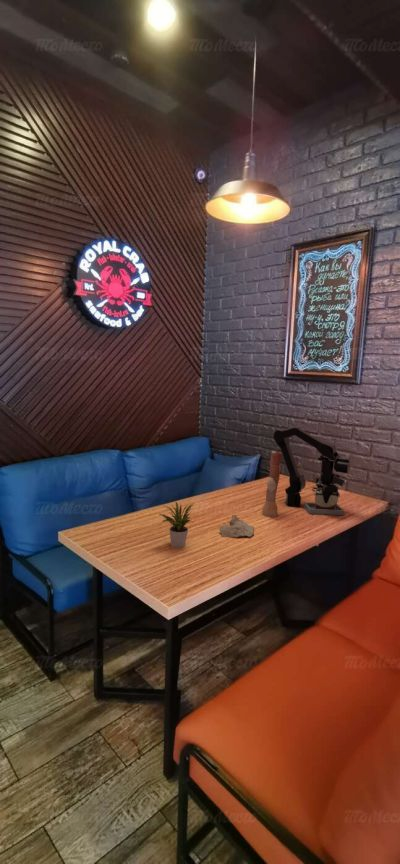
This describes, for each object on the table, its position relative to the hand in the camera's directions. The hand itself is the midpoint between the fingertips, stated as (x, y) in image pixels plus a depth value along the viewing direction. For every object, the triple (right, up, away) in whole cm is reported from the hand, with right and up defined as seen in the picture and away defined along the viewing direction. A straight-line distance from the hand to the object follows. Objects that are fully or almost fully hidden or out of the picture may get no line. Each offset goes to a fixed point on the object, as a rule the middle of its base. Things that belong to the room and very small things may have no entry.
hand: (324, 501), depth 207 cm
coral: (-45, -8, -31) cm, 55 cm away
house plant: (-68, -8, -47) cm, 83 cm away
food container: (0, -4, +2) cm, 4 cm away
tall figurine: (-27, -5, -7) cm, 28 cm away
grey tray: (0, -5, +1) cm, 5 cm away
